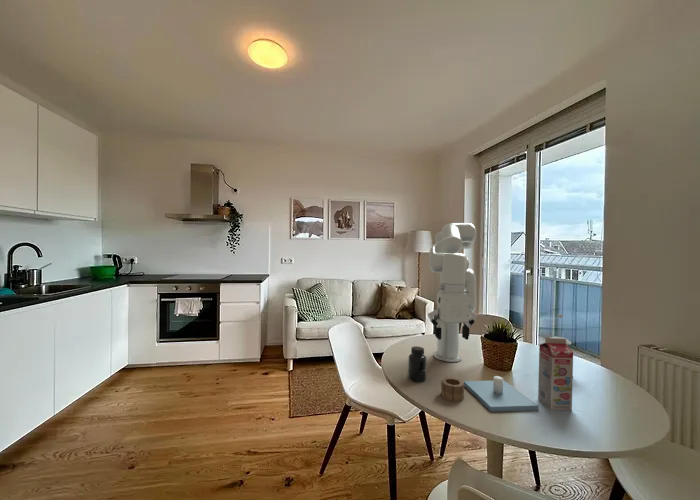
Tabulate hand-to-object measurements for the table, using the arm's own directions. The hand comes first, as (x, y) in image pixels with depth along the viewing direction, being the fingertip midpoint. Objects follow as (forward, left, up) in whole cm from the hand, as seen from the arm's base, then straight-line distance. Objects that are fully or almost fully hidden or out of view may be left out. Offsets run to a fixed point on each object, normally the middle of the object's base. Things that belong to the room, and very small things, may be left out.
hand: (451, 338), depth 102 cm
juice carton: (+7, +33, -20) cm, 39 cm away
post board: (+1, +17, -20) cm, 26 cm away
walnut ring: (0, +1, -20) cm, 20 cm away
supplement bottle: (-14, -7, -20) cm, 26 cm away
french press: (-17, +54, -20) cm, 60 cm away
